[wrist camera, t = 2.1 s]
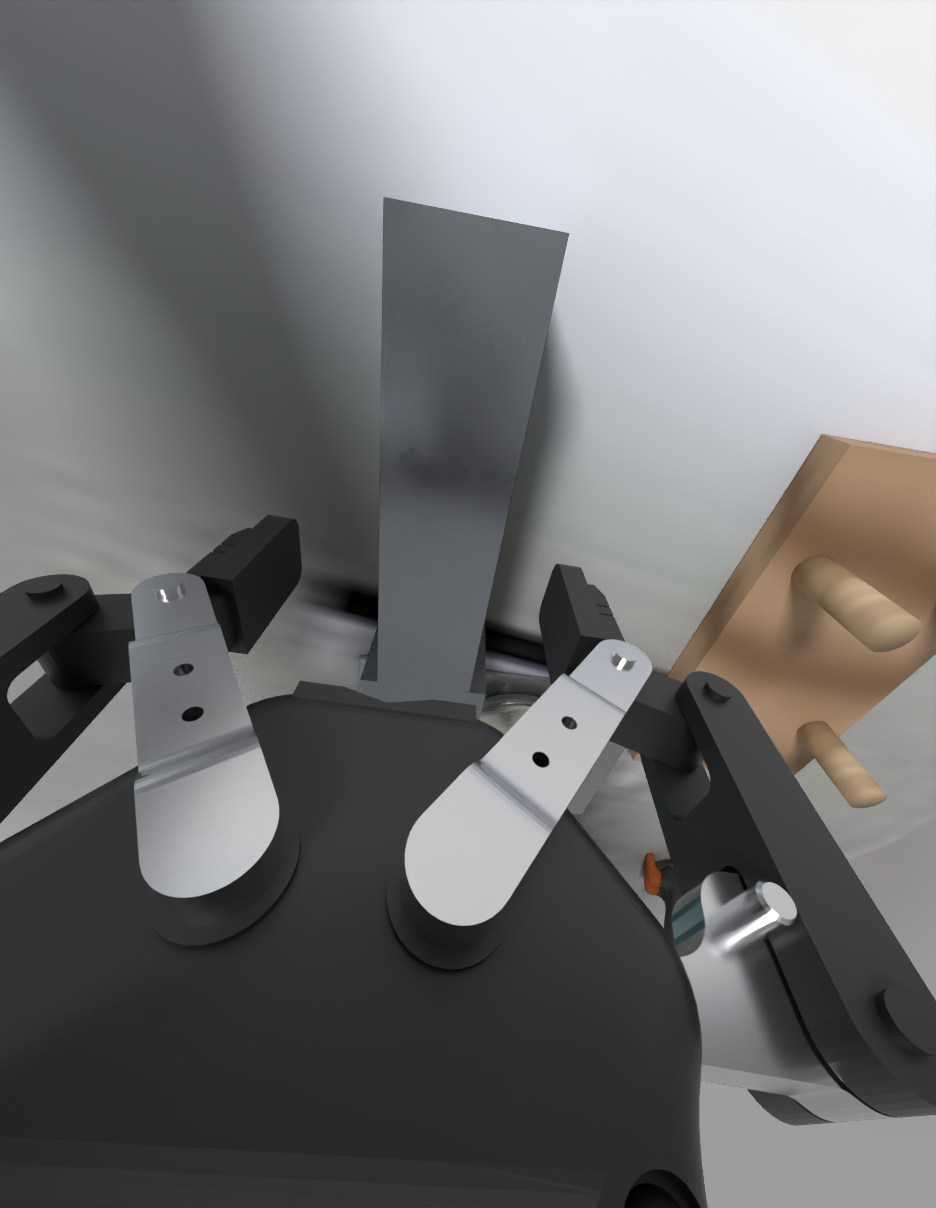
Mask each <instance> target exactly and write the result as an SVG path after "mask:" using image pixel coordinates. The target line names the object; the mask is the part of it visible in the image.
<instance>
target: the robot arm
mask: <svg viewBox="0 0 936 1208" xmlns="http://www.w3.org/2000/svg"><path fill="white" fill-rule="evenodd" d="M301 570H302V563H301V551H300V540H299V528H298V524H297V521H296V520H295V519H290V518H284V517H278V516H272V515H268V516H266V517H265V518H264V519H263V520H261V521H260V522H259V523H258V524H257V525H256V526H255V527H254V528H252V529H251V528H247V529H244V530H242V531H239V532H237V533H234V534H232V535H231V536H229V537H228V538H227V539H226V540H225V541H223V542H222V544H221V545H219V546H218V547H216V548H215V549H214V550H213V553H212V552H210V553H209V554H208V555H207V556H206V557H204V558H203V559H202V560H201V561H200V562H198V563H197V564H196V565H195V566H194V567H192V568H191V569H190V570H189V571H188V572H186V573H168V574H162V575H158V576H154V577H151V578H148V579H146V580H144V581H142V582H141V583H139V584H138V585H136V586H135V587H134V589H133V590H132V592H131V594H107V595H94V593H93V591H92V588H91V586H90V584H89V582H88V581H87V580H86V579H84V578H82V577H80V576H75V575H66V574H58V575H48V576H42V577H37V578H33V579H29V580H26V581H23V582H21V583H18V584H16V585H14V586H12V587H10V588H9V589H7V590H5V591H4V592H2V593H0V823H1V822H2V821H3V820H4V819H5V818H6V817H7V816H8V815H9V813H10V812H11V811H12V810H13V809H14V808H15V807H16V806H17V804H18V803H19V802H20V801H21V800H22V799H23V798H24V797H25V796H26V794H27V793H28V792H29V791H30V790H31V789H32V788H33V787H34V786H35V784H36V783H37V782H38V781H39V780H40V779H41V778H42V777H43V775H44V774H45V773H46V772H47V771H48V770H49V769H50V768H51V767H52V765H53V764H54V763H55V762H56V761H57V760H58V759H59V758H60V757H61V755H62V754H63V753H64V752H65V751H66V750H67V749H68V748H69V746H70V745H71V744H72V743H73V742H74V741H75V740H76V739H77V738H78V736H79V735H80V734H81V733H82V732H83V731H84V730H85V729H86V728H87V726H88V725H89V724H90V723H91V722H92V721H93V720H94V719H95V718H96V716H97V715H98V714H99V713H100V712H101V711H102V710H103V709H104V707H105V706H106V705H107V704H108V703H109V702H110V701H111V700H112V699H113V697H114V696H115V695H116V694H117V693H118V692H119V691H120V690H121V689H122V687H123V686H124V685H125V684H126V683H128V682H131V684H132V696H133V708H134V720H135V732H136V744H137V756H138V766H137V767H135V768H133V769H131V770H129V771H128V772H126V773H124V774H122V775H120V776H119V777H117V778H115V779H113V780H111V781H110V782H108V783H106V784H104V785H102V786H101V787H99V788H97V789H95V790H93V791H92V792H90V793H88V794H86V795H84V796H83V797H81V798H79V799H77V800H75V801H74V802H72V803H70V804H68V805H67V806H65V807H63V808H61V809H59V810H58V811H56V812H54V813H52V814H50V815H49V816H47V817H45V818H43V819H41V820H40V821H38V822H36V823H34V824H32V825H31V826H29V827H27V828H25V829H23V830H22V831H20V832H18V833H16V834H14V835H13V836H11V837H9V838H7V839H5V840H4V841H2V842H0V1208H708V1207H707V1201H706V1193H705V1185H704V1177H703V1169H702V1161H701V1146H700V1131H699V1095H700V1082H701V1081H705V1082H711V1083H717V1084H722V1085H729V1086H734V1087H740V1088H746V1089H748V1091H749V1092H750V1093H751V1095H752V1096H753V1097H754V1098H755V1100H756V1101H757V1102H758V1103H759V1104H760V1105H761V1106H762V1107H763V1108H764V1109H765V1110H766V1111H767V1112H769V1113H770V1114H771V1115H772V1116H774V1117H775V1118H777V1119H779V1120H780V1121H782V1122H785V1123H787V1124H791V1125H809V1124H822V1123H834V1122H848V1121H861V1120H873V1119H886V1118H897V1117H912V1116H924V1115H936V1001H935V999H934V997H933V996H932V994H931V993H930V991H929V989H928V988H927V986H926V985H925V983H924V981H923V980H922V978H921V977H920V975H919V973H918V972H917V970H916V969H915V967H914V966H913V964H912V962H911V961H910V959H909V958H908V956H907V954H906V953H905V951H904V950H903V948H902V946H901V945H900V943H899V942H898V940H897V939H896V937H895V935H894V934H893V932H892V931H891V929H890V927H889V926H888V924H887V923H886V921H885V919H884V918H883V916H882V915H881V913H880V912H879V910H878V909H877V907H876V906H875V904H874V902H873V901H872V899H871V897H870V896H869V894H868V892H867V891H866V889H865V888H864V886H863V885H862V883H861V881H860V880H859V878H858V877H857V875H856V873H855V872H854V870H853V869H852V867H851V865H850V864H849V862H848V861H847V859H846V858H845V856H844V854H843V853H842V851H841V850H840V848H839V846H838V845H837V843H836V842H835V840H834V838H833V837H832V835H831V834H830V832H829V831H828V829H827V827H826V826H825V824H824V823H823V821H822V819H821V818H820V816H819V815H818V813H817V811H816V810H815V808H814V807H813V805H812V804H811V802H810V800H809V799H808V797H807V796H806V794H805V792H804V791H803V789H802V788H801V786H800V784H799V783H798V781H797V780H796V778H795V777H794V775H793V773H792V772H791V770H790V769H789V767H788V765H787V764H786V762H785V761H784V759H783V757H782V756H781V754H780V753H779V751H778V750H777V748H776V746H775V745H774V743H773V742H772V740H771V738H770V737H769V735H768V734H767V732H766V730H765V729H764V727H763V726H762V724H761V723H760V721H759V719H758V718H757V716H756V715H755V713H754V711H753V710H752V708H751V707H750V705H749V703H748V702H747V700H746V699H745V697H744V696H743V694H742V693H741V692H740V691H739V690H738V689H737V688H736V687H735V686H733V685H732V684H731V683H729V682H728V681H726V680H725V679H723V678H721V677H719V676H717V675H714V674H712V673H708V672H704V671H694V672H691V673H690V674H688V676H687V677H686V679H685V680H684V681H683V682H680V681H677V680H675V679H672V678H669V677H667V676H664V675H661V674H659V673H656V672H654V671H652V664H651V662H650V660H649V659H648V657H647V656H646V655H645V654H644V653H643V652H642V651H641V650H639V649H638V648H636V647H635V646H633V645H631V644H629V643H626V642H625V641H624V638H623V636H622V634H621V632H620V629H619V627H618V625H617V623H616V620H615V618H614V617H613V614H612V611H611V609H610V608H609V605H608V602H607V600H606V598H605V596H604V595H603V594H602V593H601V592H600V591H599V590H598V589H597V588H596V587H595V586H594V585H589V584H587V582H586V579H585V577H584V574H583V572H582V569H581V568H580V567H574V566H568V565H562V564H556V565H555V567H554V569H553V571H552V574H551V577H550V580H549V583H548V586H547V589H546V592H545V595H544V598H543V601H542V604H541V607H540V614H539V623H540V629H541V634H542V640H543V645H544V650H545V656H546V661H547V667H548V672H549V677H550V683H551V686H550V687H549V689H548V690H547V691H546V692H545V693H544V694H543V695H542V696H541V697H540V698H539V699H538V700H537V701H536V702H535V703H534V704H533V706H532V707H531V708H530V709H529V710H528V711H527V712H526V713H525V714H524V715H523V716H522V717H521V718H520V719H519V720H518V721H517V723H516V724H515V725H514V726H513V727H512V728H511V729H510V730H509V731H508V732H507V733H506V734H505V735H504V734H503V733H502V732H501V731H499V730H497V729H496V728H494V727H493V726H491V725H489V724H487V723H485V722H483V721H480V720H478V719H476V705H470V704H463V703H456V702H449V701H442V700H434V699H433V700H419V701H404V702H384V701H381V700H378V699H376V698H373V697H370V696H368V695H365V694H362V693H359V692H357V691H354V690H351V689H348V688H346V687H341V686H334V685H326V684H319V683H312V682H305V681H300V682H299V684H298V686H297V687H296V689H295V691H294V693H293V694H290V695H282V696H276V697H272V698H268V699H264V700H261V701H258V702H255V703H252V704H250V705H248V706H246V704H245V701H244V698H243V695H242V692H241V689H240V686H239V683H238V680H237V677H236V674H235V671H234V668H233V665H232V661H231V658H230V655H229V652H235V653H242V654H248V653H249V651H250V650H251V648H252V647H253V646H254V644H255V643H256V641H257V640H258V639H259V637H260V636H261V634H262V633H263V632H264V630H265V629H266V627H267V626H268V625H269V623H270V622H271V620H272V619H273V618H274V616H275V615H276V613H277V612H278V611H279V609H280V608H281V606H282V605H283V604H284V602H285V601H286V599H287V598H288V597H289V595H290V594H291V592H292V591H293V590H294V588H295V587H296V585H297V584H298V582H299V579H300V576H301ZM36 660H38V662H39V663H40V665H41V666H42V668H43V670H44V671H45V674H44V675H43V676H42V677H41V678H40V679H38V680H37V681H36V682H35V683H34V684H33V685H32V686H30V687H29V688H28V689H27V690H26V691H25V692H24V693H22V694H21V695H20V696H19V697H18V698H17V699H15V700H14V701H13V702H12V703H11V704H9V702H8V700H7V692H8V688H9V686H10V684H11V682H12V681H13V680H14V679H15V678H16V677H17V676H18V675H19V674H20V673H21V672H23V671H24V670H25V669H26V668H27V667H29V666H30V665H31V664H32V663H34V662H35V661H36ZM609 741H611V742H613V743H616V744H618V745H621V746H623V747H625V748H628V749H630V750H632V751H635V752H637V753H639V754H640V757H641V761H642V764H643V767H644V771H645V774H646V778H647V781H648V784H649V788H650V791H651V794H652V798H653V801H654V804H655V808H656V811H657V814H658V818H659V821H660V824H661V828H662V831H663V835H664V838H665V841H666V845H667V848H668V851H669V855H670V858H671V861H672V865H673V868H674V871H675V875H676V878H677V882H678V885H679V888H680V892H681V895H682V897H681V898H680V899H679V900H678V901H677V902H676V904H675V905H674V908H673V912H672V928H673V934H674V944H673V943H672V941H671V939H670V938H669V936H668V935H667V933H666V931H665V930H664V928H663V927H662V926H661V924H660V923H659V922H658V920H657V919H656V918H655V916H654V915H653V914H652V913H651V911H650V910H649V909H648V908H647V906H646V905H645V904H644V903H643V901H642V900H641V899H640V898H639V896H638V895H637V894H636V893H635V892H634V890H633V889H632V888H631V887H630V885H629V884H628V883H627V882H626V880H625V879H624V878H623V877H622V875H621V874H620V873H619V872H618V870H617V869H616V868H615V867H614V865H613V864H612V863H611V862H610V861H609V859H608V858H607V857H606V856H605V854H604V853H603V852H602V851H601V849H600V848H599V847H598V846H597V844H596V843H595V842H594V841H593V839H592V838H591V837H590V836H589V834H588V833H587V832H586V831H585V829H584V828H583V827H582V826H581V825H580V823H579V822H578V821H577V820H576V818H575V817H574V816H573V815H572V813H571V812H570V811H569V810H568V807H569V805H570V804H571V802H572V800H573V799H574V797H575V795H576V794H577V792H578V791H579V789H580V787H581V786H582V784H583V783H584V781H585V779H586V778H587V776H588V775H589V773H590V771H591V770H592V768H593V766H594V765H595V763H596V762H597V760H598V758H599V757H600V755H601V754H602V752H603V750H604V749H605V747H606V746H607V744H608V742H609ZM703 761H705V763H706V766H707V768H708V770H709V773H710V780H709V778H708V776H707V773H706V771H705V769H704V767H703V764H702V762H703ZM710 781H711V783H710Z"/></svg>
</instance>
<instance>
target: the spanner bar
mask: <svg viewBox="0 0 936 1208" xmlns="http://www.w3.org/2000/svg"><path fill="white" fill-rule="evenodd" d="M568 236H569V233H565V232H560V231H555V230H550V229H545V228H539V227H534V226H529V225H524V224H519V223H514V222H509V221H504V220H498V219H493V218H488V217H483V216H478V215H473V214H468V213H463V212H458V211H452V210H447V209H442V208H437V207H432V206H427V205H422V204H417V203H411V202H406V201H401V200H396V199H391V198H386V197H384V204H383V283H382V362H381V441H380V520H379V599H378V627H377V630H376V633H375V636H374V639H373V642H372V645H371V648H370V651H369V654H368V657H367V660H366V663H365V666H364V669H363V672H362V675H361V678H360V693H362V694H365V695H368V696H370V697H373V698H376V699H378V700H381V701H384V702H404V701H419V700H433V699H434V700H442V701H449V702H456V703H463V704H470V705H476V719H478V720H479V719H480V715H481V711H482V707H483V703H484V699H485V695H486V674H485V623H484V621H485V616H486V612H487V607H488V603H489V598H490V594H491V589H492V584H493V580H494V575H495V571H496V566H497V561H498V557H499V552H500V548H501V543H502V539H503V534H504V529H505V525H506V520H507V516H508V511H509V507H510V502H511V497H512V493H513V488H514V484H515V479H516V474H517V470H518V465H519V461H520V456H521V452H522V447H523V442H524V438H525V433H526V429H527V424H528V420H529V415H530V410H531V406H532V401H533V397H534V392H535V387H536V383H537V378H538V374H539V369H540V365H541V360H542V355H543V351H544V346H545V342H546V337H547V333H548V328H549V323H550V319H551V314H552V310H553V305H554V300H555V296H556V291H557V287H558V282H559V278H560V273H561V268H562V264H563V259H564V255H565V250H566V246H567V241H568Z"/></svg>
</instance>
